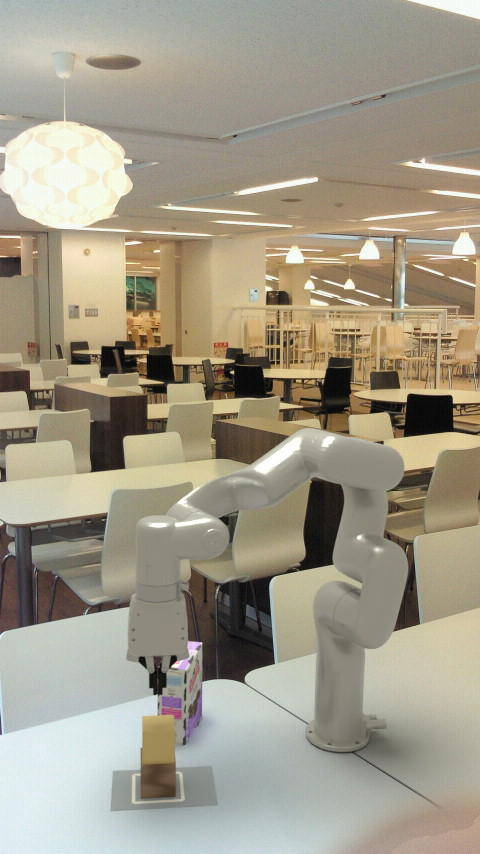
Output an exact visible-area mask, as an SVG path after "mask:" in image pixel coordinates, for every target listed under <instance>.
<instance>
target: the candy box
mask: <svg viewBox="0 0 480 854" xmlns="http://www.w3.org/2000/svg"><path fill="white" fill-rule="evenodd" d="M188 651H189V658H188V659H185V660H181V661H177V662H176V663H175V664H174V665H173V666H171V667H170V668H169V670H168V672H167V688H163V695H160V694H158V693H157V715H174V726H175V745H178V746H185V745H186V744H187V743H188V741H189V739H190V737H191V735H192V733H193V731H194V729H196V728H197V727H196V726H198V725H197V724H199V723H198V722H200V721H199V720H201V719H200V718H202V717H203V642H199V641H191V640H188ZM201 716H202V717H201Z"/></svg>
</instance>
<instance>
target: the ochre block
mask: <svg viewBox="0 0 480 854" xmlns="http://www.w3.org/2000/svg"><path fill="white" fill-rule="evenodd" d="M141 717H142V718H141V719H142V720H141V721H142V722H141V723H142V724H141V728H142V731H141V732H142V733H141V736H142V738H141V739H142V740H141V743H142V744H141V745H142V747H141V748H142V765H146V764H167V763H175V760H176V752H175V751H176V749H175V748H176V744H175V726H174V715H158V714H157V715H142V716H141Z"/></svg>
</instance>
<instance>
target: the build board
mask: <svg viewBox="0 0 480 854" xmlns="http://www.w3.org/2000/svg"><path fill="white" fill-rule="evenodd" d="M111 778H112V780H111V798H110V812H119V811H120V812H121V811H134V810H135V811H137V810H154V809H155V810H156V809H174V808H177V809H178V808H188V807H189V808H193V807H209V806H219V805H218V799H217V792H216V785H215V779H214V772H213V766H212V765H205V766H203V765H202V766H184V767H181V766H180V767H176V797H164V798H145V799H141V769H124V770H123V769H122V770H113V771H112V777H111Z"/></svg>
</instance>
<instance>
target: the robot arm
mask: <svg viewBox="0 0 480 854" xmlns="http://www.w3.org/2000/svg"><path fill="white" fill-rule="evenodd" d="M404 473H405V461H404V458H403V456H402V455H401V454H400V452H399V451H398V450H397V449H395V448H394V447H392V446H389V445H387V444H382V443H377V442H374V441H370V440H367V439H364V438H363V439H362V438H359V437H354V436H345V435H341V434H338V433H334V432H329V431H327V430H323V429H319V428H318V429H317V428H312V427H305V428H302V429H299V430H297V431H296V432H294V433H293V434H291V435H290V436H288V437H287V438H285V439H284V440H283V441H282V442H280V443H278V444H277V445H276V446H275V447H273V448H272V449H270V450H269V451H267V452H266V453H265V454H264V455H262V456H261V457H259V458H258V459H256V460H255V461H254V462H253V463H251V464H249V465H247V466H246V467H244V468H242V469H239V470H235V471H233V472H230V473H228V474H224V475H222V476H220V477H217V478H214V479H211V480H209V481H207V482H205V483H202V484H201V485H199V486H197V487H196V488H195V489H193V490H192V491H189V492H188V493H187V494H186V495H184V496H183V497H181V498H180V499H179V500H177V501H176V502H175V503H174V504H173V505H172V506H171V507H170V508H169V509H168V511H166V513H165V515H162V514H161V515H160V514H159V515H158V514H156V515H154V514H153V515H148V516H145V517H142V518H140V519H139V520H138V521H137V523H136V525H135V593H133V594H132V595H131V597H130V602H129V607H128V620H127V651H126V655H125V656H126V657H125V658H126V661H128V662H131V663H138V664H140V665H141V666H142V667H143V668H144V669H145V670H146V671H147V673H148V689H152V695H153V696H157V695H158V694H160V695H163V688H167V672H168V670H169V668H170V667H171V666H173V665H174V664H175V663H176V662H177V661H181V660H185V659H188V658H189V651H188V641H189V633H188V631H189V630H188V627H189V625H188V612H187V611H188V610H187V603H186V598H185V597H186V596H185V594H184V593H183V592H184V591H189V590H190V582H189V581H184V580H182V579H181V562H182V561H181V560H195V561H196V560H198V561H199V560H200V561H201V560H202V561H203V560H204V561H205V560H210V559H211V560H212V559H215V558H216V557H219V556H220V555H222V554H223V552H225V551H226V550H227V547H228V546H229V543H230V531H229V529H228V527H227V525H226V524H225V523H224V522H223V521H222V520H221V519H220V518H222V517H223V516H226V515H228V514H232V513H236V512H239V511H240V512H241V511H249V510H252V511H253V510H263V509H269V508H273V507H275V506H277V505H279V504H280V503H281V502H282V501H284V500H285V499H287V497H289V496H290V495H292V493H294V492H295V491H297V490H298V489H299V488H300V487H302V486H303V485H304V484H306V483H307V482H309V481H310V480H311V479H313V478H317V479H321V480H324V481H327V482H331V483H333V484H338V485H341V489H342V492H343V499H344V501H343V503H344V504H343V509H342V514H341V519H340V522H339V527H338V531H337V533H336V534H337V535H336V539H335V542H334V546H333V552H332V563H333V564H332V565H334V567H335V569H336V570H337V571H338V572H339V573H341V574H343V575H344V576H346V577H348V578H350V579H351V580H354V581H355V582H358V583H359V584H361V588H360V587H358V586H355V585H353V584H351V583H349V582H345V581H343V580H330V581H328V582H325V583H324V584H322V585H321V586H320V587H319V588H318V590H317V591H316V592H315V595H314V597H313V601H312V602H313V603H312V615H313V616H312V617H313V624H314V628H315V636H316V638H315V639H316V643H315V644H316V648H315V649H316V657H315V678H314V679H315V681H314V682H315V683H314V708H313V710H314V711H313V712H314V713H313V714H314V715H313V719H312V720H310V722H308V724H307V725H306V727H305V735H306V738H307V740H308V741H309V743H311V744H312V745H314V746H315V747H317V748H318V749H319V748H320V749H322V750H324V751H325V750H326V751H329V752H334V753H348V752H355V751H359V750H360V749H363V748H365V746H366V745H368V744H369V742H370V735H371V733H370V732H371V731H372V730H386V729H387V720H386V719H385V718H379V719H378V718H377V714H373V713H372V714H365V713H364V711H363V710H364V693H365V692H364V688H365V686H364V685H365V667H366V649H367V650H375V649H379V648H381V647H382V646H384V645H386V643H387V642H388V641H389V640H390V638H391V636H392V635H393V632H394V630H395V627H396V623H397V621H398V620H397V619H398V615H399V612H400V609H401V604H402V600H403V596H404V594H405V593H404V592H405V588H406V584H407V580H408V575H409V563H408V562H409V561H408V557H407V554H406V552H405V550H404V549H403V548H402V547H401V546H400V545H399V544H398V543H396V542H394V541H392V540H389V538H386V537H385V538H384V533H385V528H386V522H387V518H388V511H389V501H388V500H389V497H388V493H387V491H390V490H392V489H395V488H396V487H397V486H398V485H399V483H400V482H401V481H402V480H403V477H404V475H405V474H404ZM154 657H161V659H160V660H161V661H160V663H159V666H157V664H156V663H155V660H154V659H155V658H154Z"/></svg>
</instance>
